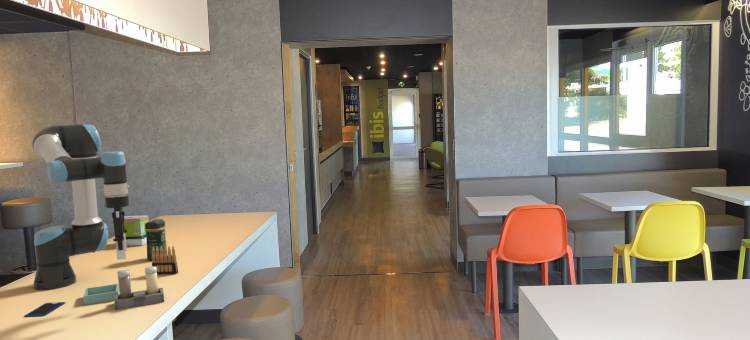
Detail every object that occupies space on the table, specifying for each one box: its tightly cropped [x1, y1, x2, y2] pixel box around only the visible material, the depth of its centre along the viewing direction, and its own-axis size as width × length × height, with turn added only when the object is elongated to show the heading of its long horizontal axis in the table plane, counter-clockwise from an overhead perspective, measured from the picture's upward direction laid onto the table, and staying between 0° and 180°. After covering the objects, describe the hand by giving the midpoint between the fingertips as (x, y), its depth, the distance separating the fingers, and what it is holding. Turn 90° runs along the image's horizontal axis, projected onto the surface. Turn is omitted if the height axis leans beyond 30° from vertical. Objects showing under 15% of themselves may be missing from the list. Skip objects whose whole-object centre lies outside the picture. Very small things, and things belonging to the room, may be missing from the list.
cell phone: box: [23, 301, 66, 318], centre depth 198 cm, size 7×14×1 cm, turn 1°
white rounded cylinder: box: [144, 265, 159, 295], centre depth 203 cm, size 4×4×12 cm
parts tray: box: [82, 283, 120, 306], centre depth 208 cm, size 11×11×3 cm
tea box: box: [113, 214, 150, 247], centre depth 300 cm, size 15×10×15 cm, turn 84°
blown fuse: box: [116, 269, 132, 299], centre depth 199 cm, size 4×4×12 cm
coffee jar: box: [145, 218, 168, 261], centre depth 265 cm, size 10×8×19 cm
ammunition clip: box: [151, 245, 179, 276], centre depth 238 cm, size 11×2×12 cm, turn 86°
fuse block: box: [114, 287, 165, 310], centre depth 201 cm, size 16×8×3 cm, turn 113°
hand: (122, 255), depth 198 cm, fingers open, 13 cm apart
